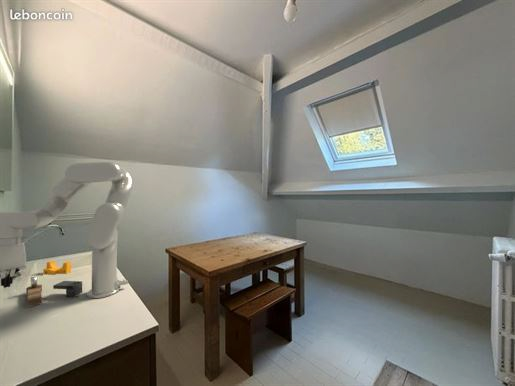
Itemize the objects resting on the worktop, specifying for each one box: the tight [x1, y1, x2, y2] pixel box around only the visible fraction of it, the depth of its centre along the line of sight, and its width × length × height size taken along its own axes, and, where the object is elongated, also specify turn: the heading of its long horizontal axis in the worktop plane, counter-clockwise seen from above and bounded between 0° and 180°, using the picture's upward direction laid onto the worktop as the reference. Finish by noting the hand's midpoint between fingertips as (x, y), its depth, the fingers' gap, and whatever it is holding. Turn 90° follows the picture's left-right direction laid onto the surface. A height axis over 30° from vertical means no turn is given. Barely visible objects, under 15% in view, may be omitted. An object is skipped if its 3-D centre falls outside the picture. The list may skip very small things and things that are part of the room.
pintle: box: [30, 276, 38, 287], centre depth 100 cm, size 2×2×4 cm
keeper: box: [52, 280, 83, 299], centre depth 99 cm, size 9×5×5 cm, turn 86°
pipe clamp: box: [42, 260, 72, 276], centre depth 124 cm, size 12×4×6 cm, turn 86°
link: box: [25, 284, 43, 308], centre depth 95 cm, size 18×5×2 cm, turn 46°
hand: (6, 286), depth 88 cm, fingers closed
